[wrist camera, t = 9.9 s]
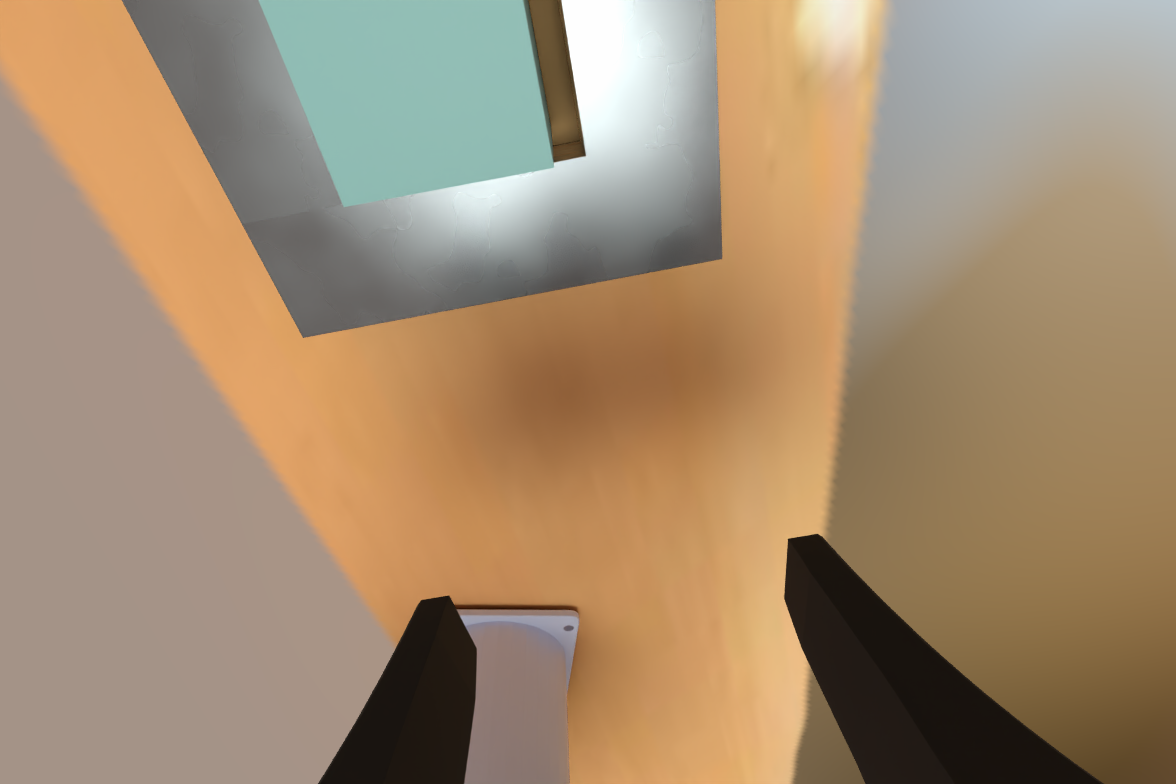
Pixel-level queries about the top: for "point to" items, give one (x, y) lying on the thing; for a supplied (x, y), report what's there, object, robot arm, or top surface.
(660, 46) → the square hole plate
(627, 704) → the top surface
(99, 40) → the top surface
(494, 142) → the peg block
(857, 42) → the top surface
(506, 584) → the top surface
